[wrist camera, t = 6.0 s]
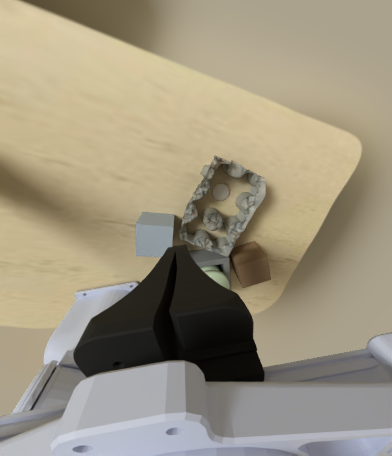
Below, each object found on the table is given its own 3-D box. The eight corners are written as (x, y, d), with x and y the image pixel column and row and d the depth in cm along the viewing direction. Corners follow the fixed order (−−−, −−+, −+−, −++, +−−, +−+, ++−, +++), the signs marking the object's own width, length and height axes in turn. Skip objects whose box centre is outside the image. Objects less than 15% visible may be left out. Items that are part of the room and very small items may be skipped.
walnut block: (233, 269, 26) (242, 288, 23) (228, 249, 25) (236, 266, 21) (258, 261, 26) (270, 279, 23) (254, 241, 25) (267, 256, 21)
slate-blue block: (143, 239, 23) (136, 256, 19) (142, 211, 21) (135, 224, 18) (172, 241, 23) (171, 257, 20) (174, 214, 22) (173, 226, 18)
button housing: (189, 283, 27) (190, 298, 24) (182, 252, 24) (183, 265, 21) (226, 277, 27) (231, 291, 24) (223, 245, 24) (229, 257, 22)
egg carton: (208, 150, 19) (215, 149, 15) (261, 178, 21) (278, 183, 17) (173, 228, 23) (172, 243, 19) (221, 246, 25) (228, 262, 21)
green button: (192, 282, 26) (195, 305, 22) (187, 256, 24) (189, 277, 20) (222, 276, 26) (230, 299, 22) (220, 251, 24) (228, 271, 20)
